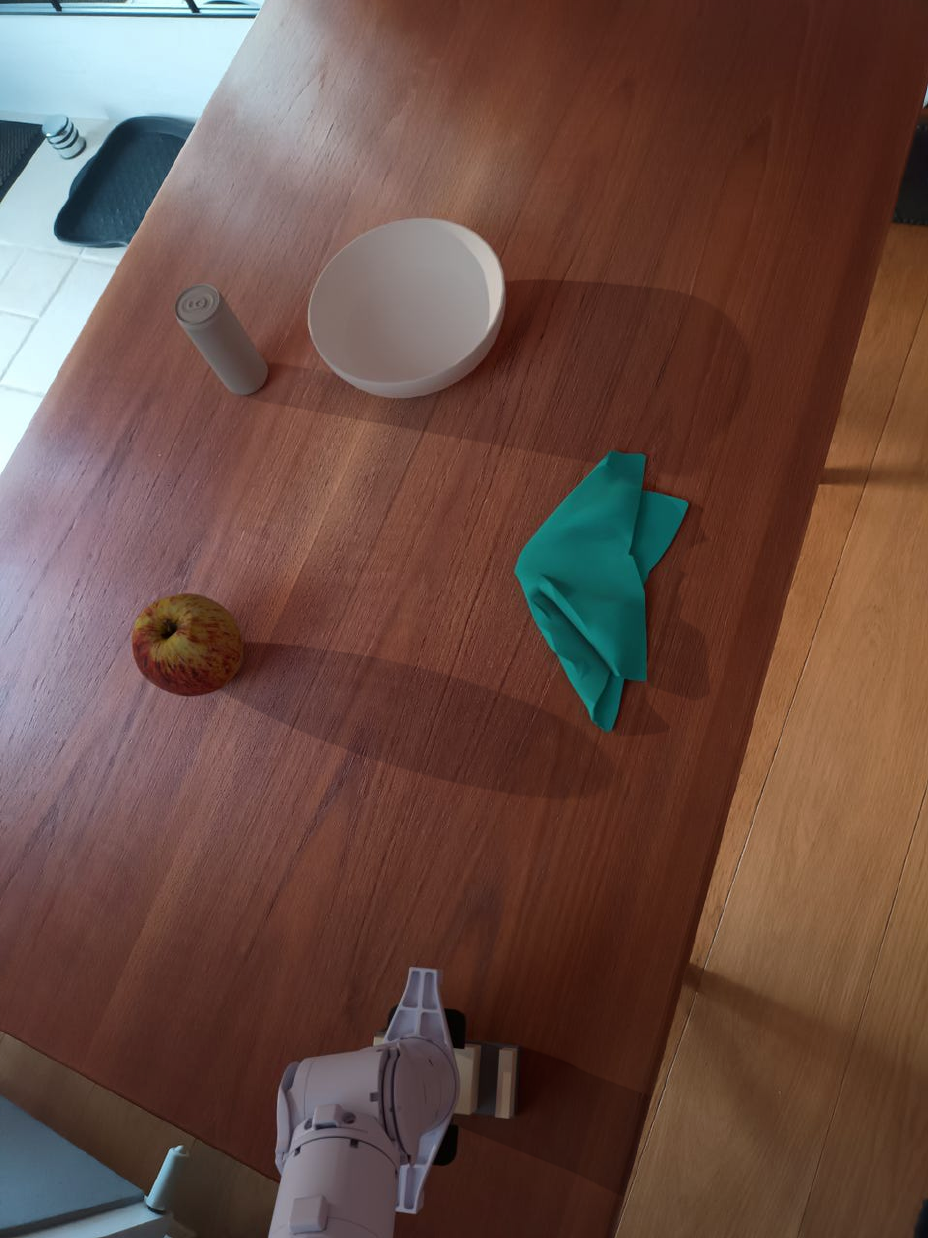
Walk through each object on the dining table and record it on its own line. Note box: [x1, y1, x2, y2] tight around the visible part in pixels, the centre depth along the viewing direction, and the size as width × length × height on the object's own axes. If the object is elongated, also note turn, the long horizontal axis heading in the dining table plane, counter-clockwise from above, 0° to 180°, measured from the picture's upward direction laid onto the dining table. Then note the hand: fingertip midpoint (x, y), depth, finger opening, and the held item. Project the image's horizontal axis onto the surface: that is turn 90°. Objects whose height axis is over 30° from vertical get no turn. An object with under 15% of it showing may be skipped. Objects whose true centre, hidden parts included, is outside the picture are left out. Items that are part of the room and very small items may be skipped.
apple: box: [131, 592, 244, 697], centre depth 84 cm, size 9×9×10 cm
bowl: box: [307, 217, 507, 399], centre depth 94 cm, size 20×20×6 cm
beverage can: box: [173, 282, 269, 396], centre depth 94 cm, size 5×5×12 cm
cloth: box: [514, 449, 689, 732], centre depth 83 cm, size 26×14×2 cm, turn 162°
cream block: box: [372, 1030, 522, 1119], centre depth 70 cm, size 11×5×4 cm, turn 85°
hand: (442, 1073), depth 71 cm, fingers closed on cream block, 4 cm apart
